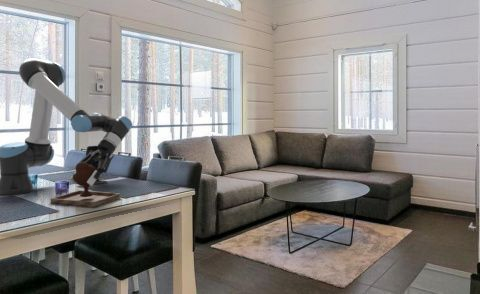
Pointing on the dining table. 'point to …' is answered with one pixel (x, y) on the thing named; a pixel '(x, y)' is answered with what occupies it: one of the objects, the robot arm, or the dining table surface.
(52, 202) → the tray
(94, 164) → the wine glass
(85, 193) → the ice cream bowl
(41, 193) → the dining table surface
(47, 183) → the dining table surface
